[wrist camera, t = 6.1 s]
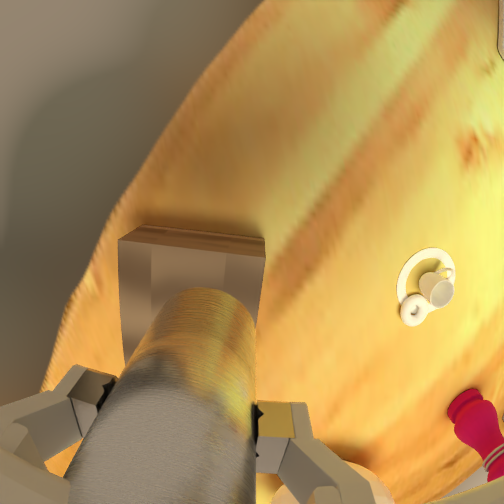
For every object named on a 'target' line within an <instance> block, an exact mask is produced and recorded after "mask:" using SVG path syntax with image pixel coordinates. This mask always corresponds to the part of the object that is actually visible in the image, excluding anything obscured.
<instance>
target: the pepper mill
mask: <svg viewBox="0 0 504 504" xmlns="http://www.w3.org/2000/svg"><path fill="white" fill-rule="evenodd" d="M448 416H449V418H450V420H451V421H452V423H454V424H455V426H454V431H455V434H456V436H457V437H458V438H459V439H460V440H461V441H462V442H463V443H465V444H467V445H469V446H470V447H472V448H474V449H475V450H476V451H477V452H478V453H479V454H480V456H481V457H482V459H483V461H484V462H483V467H485V471H487V472H489V473H488V478H487V481H488V482H490V481H492V480H495V479H497V478H499V477H501V476H504V438H503V436H502V434H501V432H500V429H499V424H498V418H497V413H496V409H495V407H494V406H493V404H492V403H491V402H490V401H488V400H483V396H482V395H481V394H480V392H479V391H478V390H477V389H469V390H467V391H465V392H463V393H462V394H460V395H459V396H458V397H457V398H456V399H455V400H454V401H453V402H452V403H451V405H450V407H449V409H448Z"/></svg>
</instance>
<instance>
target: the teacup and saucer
mask: <svg viewBox="0 0 504 504" xmlns="http://www.w3.org/2000/svg"><path fill="white" fill-rule="evenodd" d="M426 258H437V259H439V260H441V261H442V262H443V263H444V265H445V267H446V268H442V269H440V270H437V271H436V272H434V273H433V272H427V273H425V274H423V275H422V276H421V278H420V280H419V288H420V291H421V292H422V294H423V295H424V296H422V295H420V294H415V295H411V296H409V297H407V294H406V289H405V286H406V280H407V277H408V275H409V273H410V271H411V269H412V268H413V267H414V266H415V265H416V264H417V263H418V262H420V261H421V260H423V259H426ZM444 271H447V278H444V277H443V276H441V275H439V273H441V272H444ZM454 281H455V266H454V263H453V260H452V258H451V257H450V256H449V254H448V253H447V252H445V251H444V250H442V249H439V248H426V249H423V250H421V251H419V252H417V253H416V254H414V255H413V256H412V257H411V258H410V259H409V260H408V261H407V262H406V264H405V265H404V266H403V268H402V270H401V272H400V274H399V277H398V281H397V297H398V300H399V303H400V304H401V306H402V307H401V311H400V315H401V319H402V321H403V323H404V324H406V325H408V326H416V325H419V324H420V323H421V322H422V321H423V320H424V319H425V318H426V316H427V313H429V312H432V311H433V310H435V309H437V308H442V307H444V306H446V305H447V304H448V303H449V302H450V301H451V299H452V297H453V295H454V286H453V285H454ZM426 299H427V300H428V301H429V302H430V304H428V302H427V300H426ZM411 313H412V314H415V315H414V316H413V315H411Z"/></svg>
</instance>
